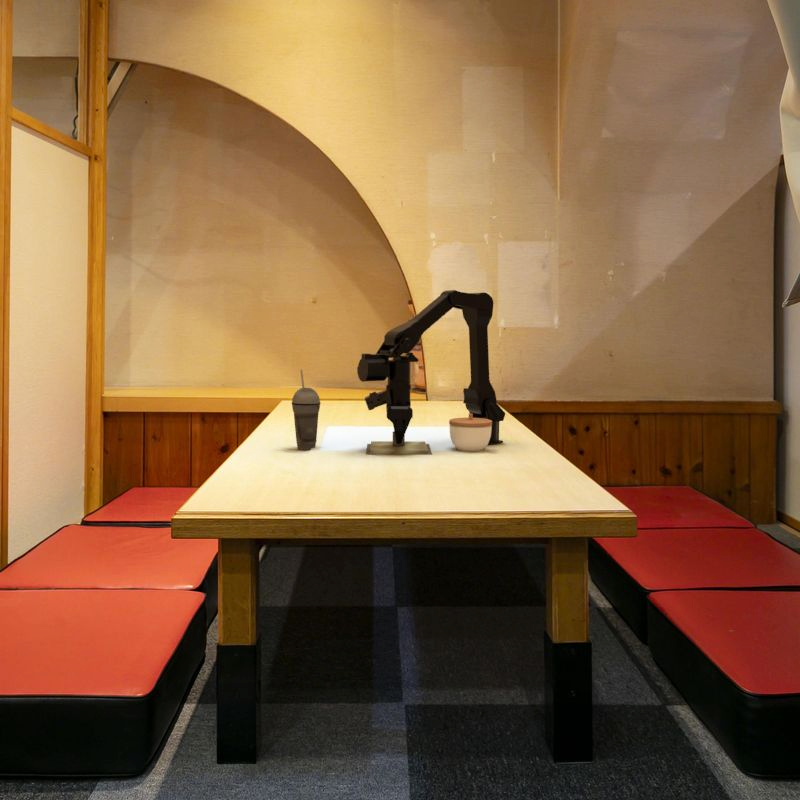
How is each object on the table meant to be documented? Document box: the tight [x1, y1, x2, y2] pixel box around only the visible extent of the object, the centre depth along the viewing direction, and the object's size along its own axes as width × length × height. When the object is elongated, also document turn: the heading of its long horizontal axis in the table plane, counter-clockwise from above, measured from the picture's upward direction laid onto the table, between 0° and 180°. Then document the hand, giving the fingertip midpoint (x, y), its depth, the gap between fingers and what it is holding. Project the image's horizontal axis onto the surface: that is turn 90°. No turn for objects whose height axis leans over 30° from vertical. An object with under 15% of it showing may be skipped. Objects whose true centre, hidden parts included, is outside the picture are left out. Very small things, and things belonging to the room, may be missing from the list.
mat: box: [365, 443, 433, 456], centre depth 191 cm, size 16×16×1 cm
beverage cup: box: [291, 369, 321, 451], centre depth 192 cm, size 7×7×20 cm
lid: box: [370, 430, 428, 454], centre depth 191 cm, size 14×14×4 cm
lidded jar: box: [448, 413, 492, 452], centre depth 191 cm, size 11×11×9 cm
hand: (398, 442), depth 191 cm, fingers closed on lid, 3 cm apart
